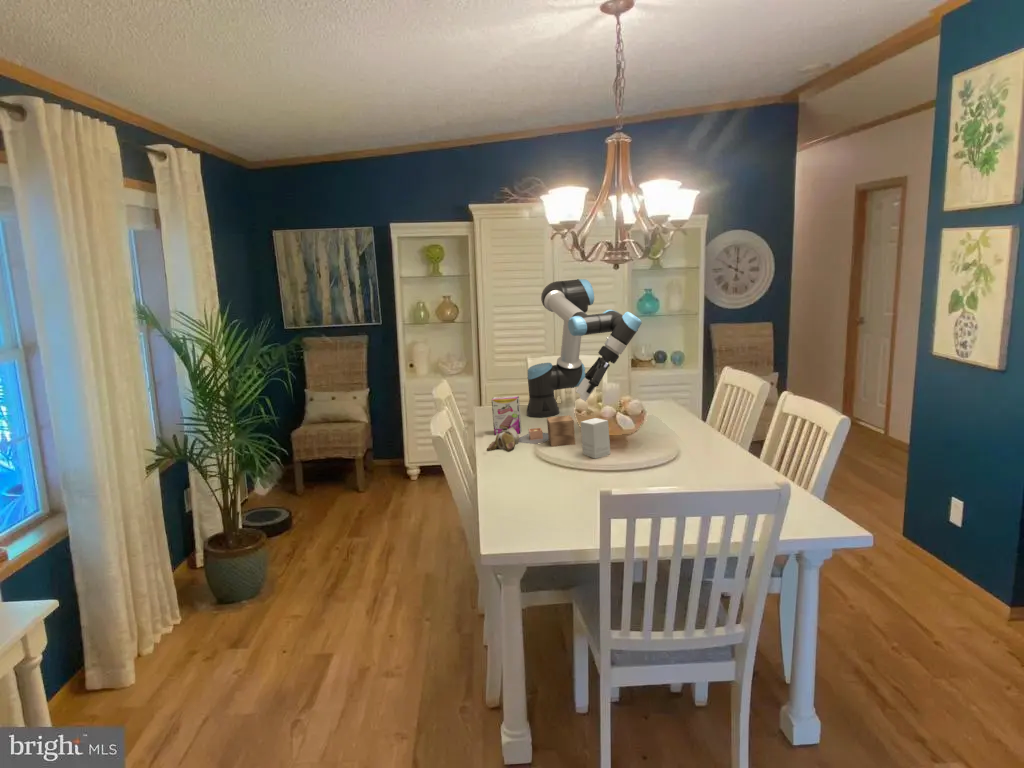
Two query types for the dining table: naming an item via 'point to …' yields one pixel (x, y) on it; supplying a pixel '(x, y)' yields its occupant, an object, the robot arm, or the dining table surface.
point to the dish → (535, 434)
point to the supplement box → (595, 437)
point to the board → (527, 440)
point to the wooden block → (561, 430)
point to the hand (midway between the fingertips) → (580, 396)
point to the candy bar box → (506, 414)
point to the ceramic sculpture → (505, 440)
